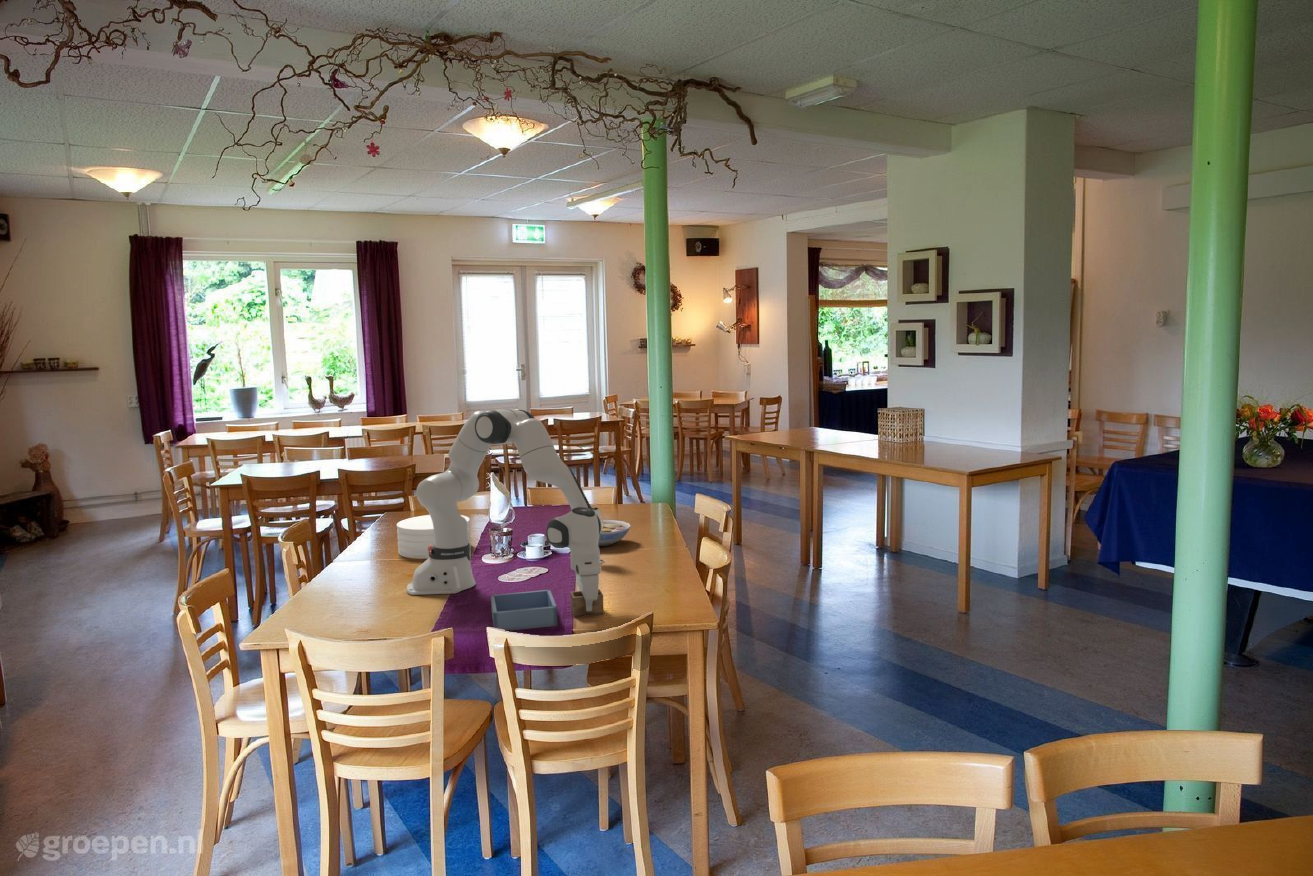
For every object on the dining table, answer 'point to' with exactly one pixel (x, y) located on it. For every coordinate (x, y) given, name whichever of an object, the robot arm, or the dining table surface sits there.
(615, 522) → the ramen bowl
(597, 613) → the walnut crate
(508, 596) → the blue crate
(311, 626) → the dining table surface
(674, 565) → the dining table surface
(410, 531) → the plate stack
